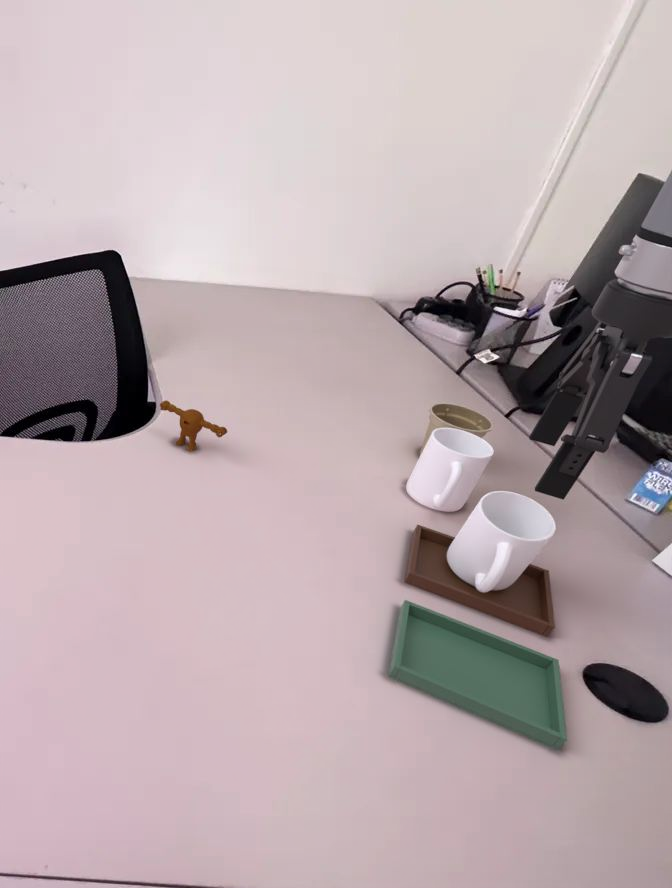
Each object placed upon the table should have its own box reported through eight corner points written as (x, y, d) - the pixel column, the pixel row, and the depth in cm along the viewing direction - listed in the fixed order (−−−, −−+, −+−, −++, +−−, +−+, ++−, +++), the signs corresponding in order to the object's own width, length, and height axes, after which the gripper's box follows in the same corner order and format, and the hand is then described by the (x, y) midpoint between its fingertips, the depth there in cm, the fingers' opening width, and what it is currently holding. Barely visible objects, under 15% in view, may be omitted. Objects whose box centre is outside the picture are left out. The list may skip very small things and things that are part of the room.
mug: (506, 624, 83) (550, 573, 76) (433, 594, 86) (469, 542, 79) (517, 559, 90) (558, 507, 83) (450, 534, 93) (484, 481, 86)
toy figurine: (148, 436, 112) (156, 400, 108) (161, 428, 114) (169, 393, 111) (210, 467, 106) (221, 430, 102) (222, 459, 108) (233, 422, 104)
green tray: (549, 671, 77) (558, 659, 76) (556, 752, 68) (567, 740, 67) (398, 611, 83) (405, 599, 82) (387, 677, 74) (394, 666, 73)
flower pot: (396, 448, 116) (417, 404, 111) (438, 443, 119) (460, 400, 114) (437, 479, 109) (462, 433, 104) (481, 473, 112) (507, 428, 107)
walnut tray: (541, 581, 90) (548, 570, 89) (546, 639, 81) (555, 627, 80) (411, 535, 96) (417, 524, 95) (403, 584, 87) (409, 572, 86)
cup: (462, 493, 106) (492, 438, 100) (462, 533, 97) (496, 476, 91) (405, 475, 109) (432, 421, 103) (401, 513, 100) (430, 456, 94)
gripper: (595, 252, 77) (506, 414, 89) (629, 313, 59) (511, 507, 71) (675, 267, 74) (572, 432, 86) (737, 336, 56) (595, 533, 68)
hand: (544, 466), depth 79 cm, fingers open, 13 cm apart
